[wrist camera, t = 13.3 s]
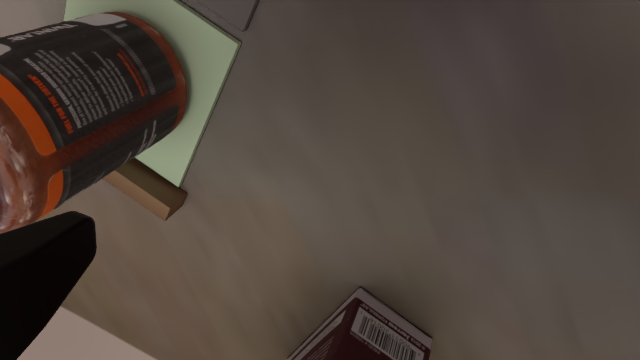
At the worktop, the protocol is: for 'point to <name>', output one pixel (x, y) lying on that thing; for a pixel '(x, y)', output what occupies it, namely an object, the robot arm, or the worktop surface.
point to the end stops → (147, 188)
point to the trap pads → (233, 11)
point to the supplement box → (365, 334)
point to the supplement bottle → (80, 107)
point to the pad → (197, 63)
